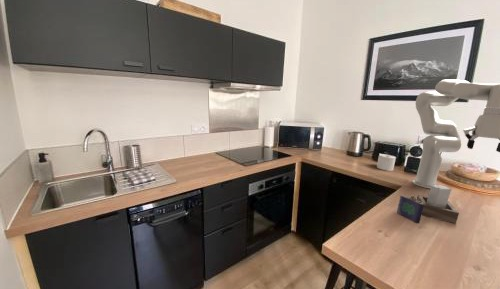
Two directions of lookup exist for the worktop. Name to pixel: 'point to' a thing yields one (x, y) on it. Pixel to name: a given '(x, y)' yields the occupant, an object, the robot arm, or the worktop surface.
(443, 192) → the skincare box
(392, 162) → the toilet tissue
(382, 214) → the worktop surface
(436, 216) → the holder
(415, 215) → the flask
